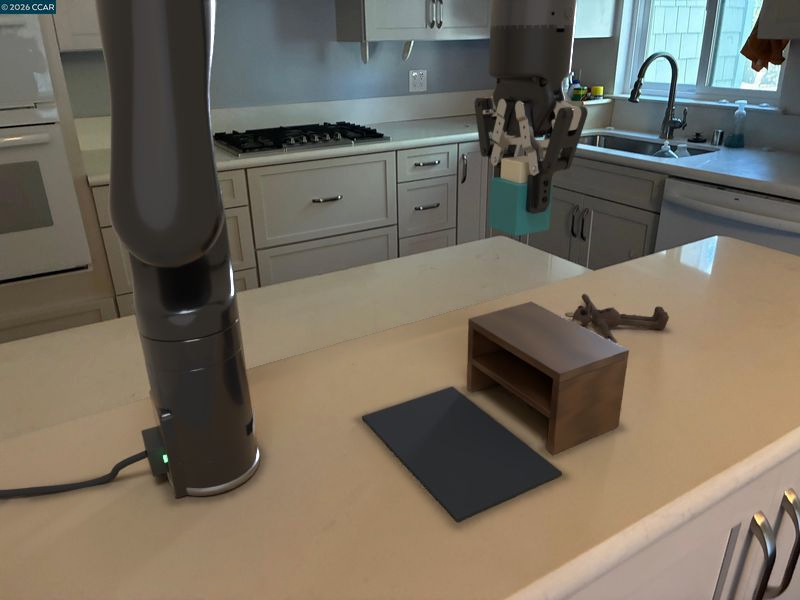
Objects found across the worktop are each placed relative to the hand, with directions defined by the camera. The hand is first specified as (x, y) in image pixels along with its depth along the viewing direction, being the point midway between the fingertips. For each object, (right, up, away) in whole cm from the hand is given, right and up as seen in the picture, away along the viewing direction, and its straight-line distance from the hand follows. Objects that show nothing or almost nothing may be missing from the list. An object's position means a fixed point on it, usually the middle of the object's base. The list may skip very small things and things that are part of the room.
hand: (519, 205), depth 62 cm
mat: (-6, -26, +6) cm, 27 cm away
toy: (0, -2, +1) cm, 2 cm away
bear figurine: (+21, -14, +33) cm, 41 cm away
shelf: (+5, -23, +12) cm, 26 cm away
